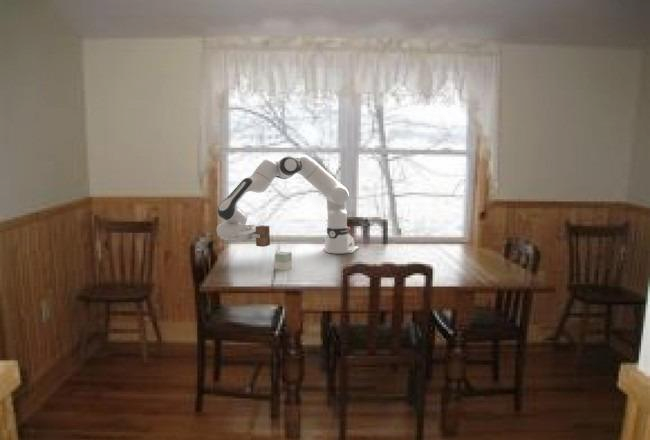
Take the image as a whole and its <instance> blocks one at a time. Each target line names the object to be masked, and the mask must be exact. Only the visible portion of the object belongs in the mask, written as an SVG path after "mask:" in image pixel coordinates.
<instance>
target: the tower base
mask: <svg viewBox="0 0 650 440" xmlns="http://www.w3.org/2000/svg"><path fill="white" fill-rule="evenodd" d="M274 266H275V270H280V271H287V270H290V269H292V268H293V259H292V260H291V261H289V262H286V263H283V262H275V261H274Z"/></svg>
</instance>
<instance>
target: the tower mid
mask: <svg viewBox="0 0 650 440" xmlns="http://www.w3.org/2000/svg"><path fill="white" fill-rule="evenodd" d="M292 256H293V255H292V252H289V251H279V252H276V253H274V263H275V262H283V263H286V262H289V261H291V260H292V261H293V257H292Z"/></svg>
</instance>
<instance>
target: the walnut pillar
mask: <svg viewBox="0 0 650 440" xmlns="http://www.w3.org/2000/svg"><path fill="white" fill-rule="evenodd" d="M255 226H256V225H255ZM256 234H261V237H260V238H255V246H256V247H263V248H264V247H268V246H270V245H271V241H270V240H271V237H270V236H271V235H270V225H257V226H256Z"/></svg>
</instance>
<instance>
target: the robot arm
mask: <svg viewBox="0 0 650 440" xmlns="http://www.w3.org/2000/svg"><path fill="white" fill-rule="evenodd" d="M296 174H298V175H301V176H302V177H303V179H305V180H306V181H307V182H308V183H310V184H311V185H312V186H313V187H314V188H315V189H316V190H318V191H319V192H320V193H321V194H322V195H323V196H324V197H326V208H327V209H326V210H327V226H326V227H327V228H326V234H327V235H325V238H324V239H325V240H324V241H325V242H324V247H323V249H322V250H323V251H325V253H328V254H352V253H354V252H355V251H356V250H358V249H359V246H357V245H355V239H354V238H353V236H352V235H351V234H350V233H349V231H351V227H350V226H348V212H347V204H346V203H347V201H348V199H349V191H348V189H347V188H346V186H344V185H343V184H342V183H340V181H338V180H337V179H336V178H335V177H334V176H333V175H331V174H330V173H329V172H328V171H327V170H325V168H323V166H321V165H320V164H319V163H318V162H317V161H315V160H314V159H312V158H311V157H309V156H308V155H305V154H301V155H299V156H298V157H294V156H290V155H289V156H288V155H287V156H284V157H282V158H281V159H280V160H278V161H277V162H276V161H273V160H272V159H267V158H266V159H264V160H262V161H261V163H260V164H259V165H258V166H257V167H256V168H255V170H254V171H253V173H252V174H251V175H250V176H249V177H246V178H244V179H242V181H241V182H239V184H237V186H236V187H235V188H234V189H233V190H232V191H231V193H230V194H228V196H227V197H226V198H225V199H224V200H222V202H220V204H219V205H218V207H217V215H218V216H219V217H220V218H222V219H223V220H224V221H223V222H221V223H219V224H218V225H217V226H216V234H217V236H218V237H219V238H221V239H222V240H228V241H236V242H247V241H249V240H253V239H256V238H260V237H261V234H256V225H255V224H247V221H248V215H247V213H246V212H245V211H243V209H241V208H240V207H239V206H238V202H239V201H240V200H241V199H242V198H243V197H244V195H245V194H247V193H248V192H254V193H259V194H260V193H264V192H266V190H268V188H269V187H270V186H271V184H272V182H273V181H274V179H276V178H279V179H281V180H287V179H289V178H292V177H293V176H294V175H296Z"/></svg>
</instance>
